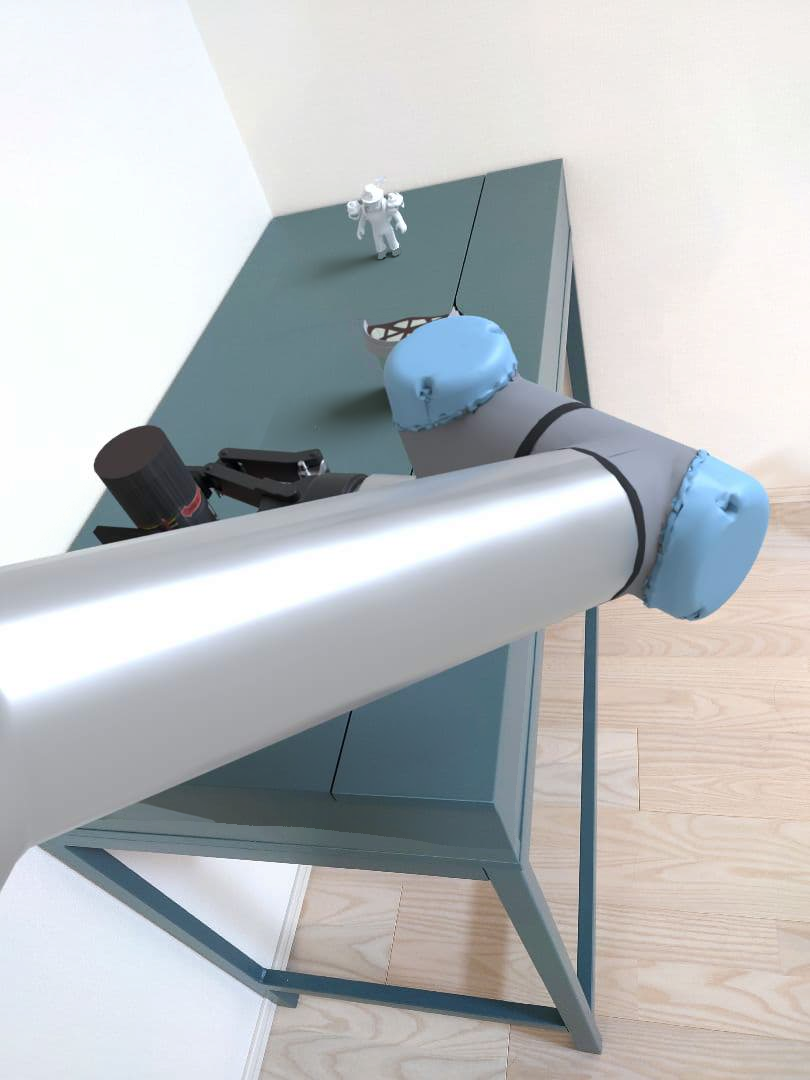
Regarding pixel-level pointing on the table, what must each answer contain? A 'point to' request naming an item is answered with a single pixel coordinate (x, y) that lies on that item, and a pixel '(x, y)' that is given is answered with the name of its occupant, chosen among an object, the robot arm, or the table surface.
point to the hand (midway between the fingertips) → (124, 510)
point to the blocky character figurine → (378, 214)
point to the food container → (394, 333)
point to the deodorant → (152, 481)
